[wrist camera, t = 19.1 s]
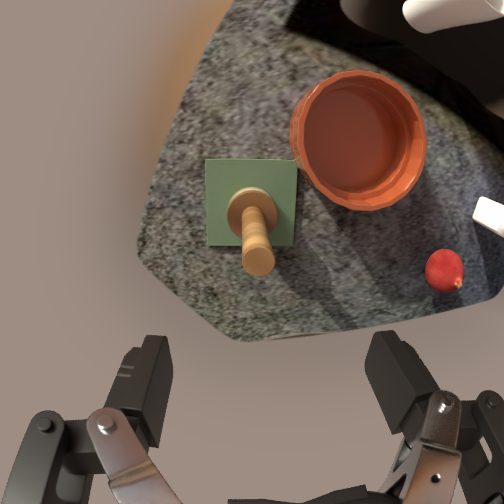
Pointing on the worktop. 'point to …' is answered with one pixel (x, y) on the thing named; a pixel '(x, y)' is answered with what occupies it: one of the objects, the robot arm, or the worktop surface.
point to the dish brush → (254, 228)
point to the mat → (249, 175)
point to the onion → (444, 271)
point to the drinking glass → (450, 13)
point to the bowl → (359, 140)
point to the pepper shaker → (490, 215)
